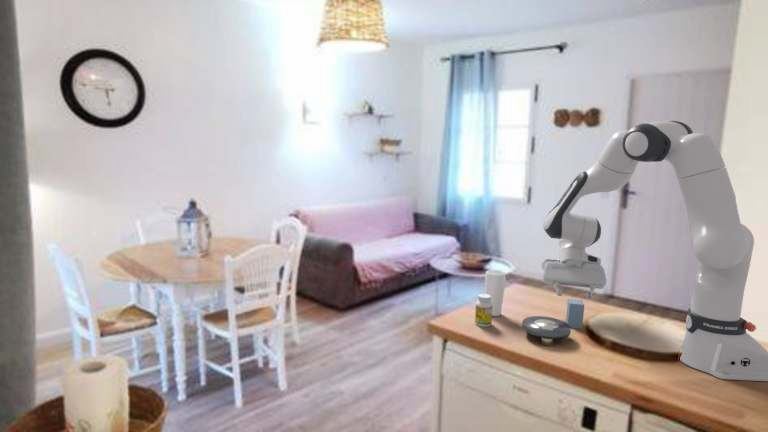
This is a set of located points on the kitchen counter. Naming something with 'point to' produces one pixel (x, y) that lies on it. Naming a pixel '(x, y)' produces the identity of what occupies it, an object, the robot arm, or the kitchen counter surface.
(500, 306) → the drinking glass
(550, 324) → the stand
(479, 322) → the supplement bottle
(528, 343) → the kitchen counter surface
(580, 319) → the block
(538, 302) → the kitchen counter surface
